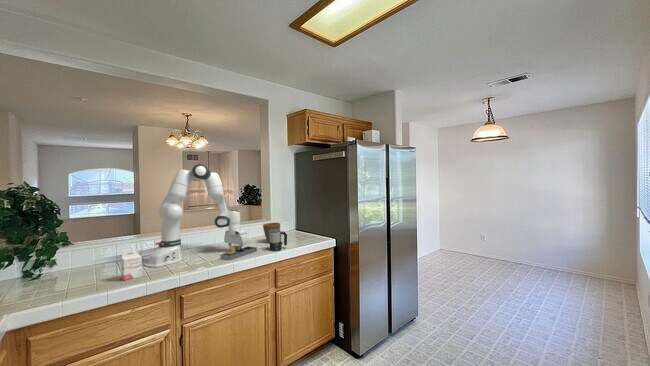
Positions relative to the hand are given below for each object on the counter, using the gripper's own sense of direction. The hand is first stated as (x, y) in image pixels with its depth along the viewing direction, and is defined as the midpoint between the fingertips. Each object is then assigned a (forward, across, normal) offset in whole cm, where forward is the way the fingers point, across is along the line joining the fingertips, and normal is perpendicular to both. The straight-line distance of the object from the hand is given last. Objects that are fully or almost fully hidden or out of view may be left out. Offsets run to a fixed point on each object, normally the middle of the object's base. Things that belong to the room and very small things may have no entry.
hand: (235, 249), depth 199 cm
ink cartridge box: (+2, -11, -64) cm, 65 cm away
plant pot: (+2, +5, +36) cm, 36 cm away
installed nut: (+1, +11, -14) cm, 18 cm away
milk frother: (+2, +22, +21) cm, 30 cm away
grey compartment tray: (+2, +11, -6) cm, 13 cm away
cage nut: (+2, 0, 0) cm, 2 cm away
